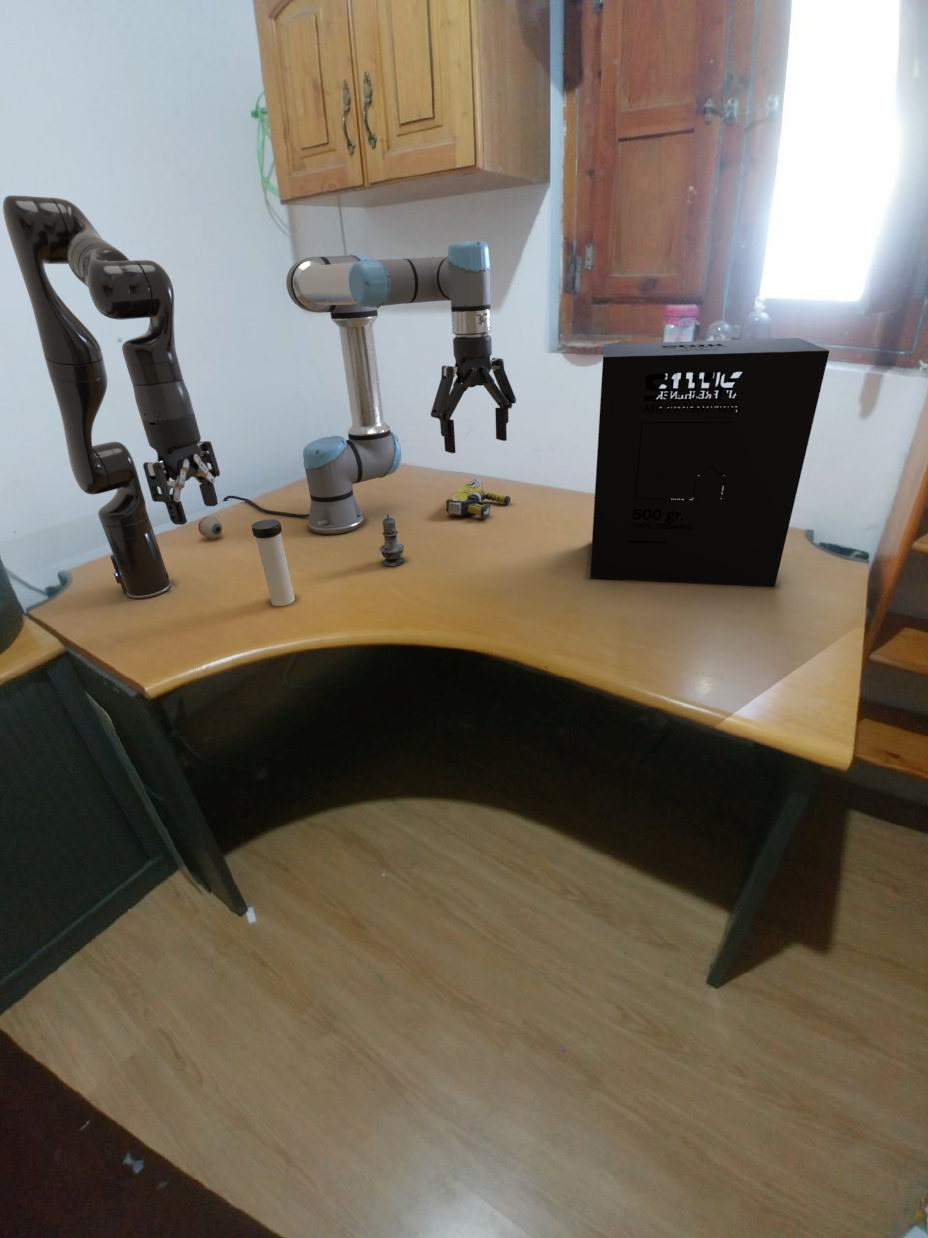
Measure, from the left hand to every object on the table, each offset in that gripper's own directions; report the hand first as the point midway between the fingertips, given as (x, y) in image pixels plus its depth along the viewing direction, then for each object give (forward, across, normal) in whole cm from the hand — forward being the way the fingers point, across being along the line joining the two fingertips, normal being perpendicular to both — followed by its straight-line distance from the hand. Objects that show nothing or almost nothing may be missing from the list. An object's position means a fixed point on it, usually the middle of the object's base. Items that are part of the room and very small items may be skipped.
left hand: (196, 514), depth 100 cm
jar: (+28, -21, -2) cm, 35 cm away
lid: (+10, -21, -1) cm, 23 cm away
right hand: (0, -44, +38) cm, 58 cm away
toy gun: (+28, -84, +30) cm, 93 cm away
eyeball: (+28, -52, -39) cm, 71 cm away
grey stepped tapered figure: (+28, -43, +16) cm, 54 cm away
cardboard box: (+28, -51, +82) cm, 100 cm away
